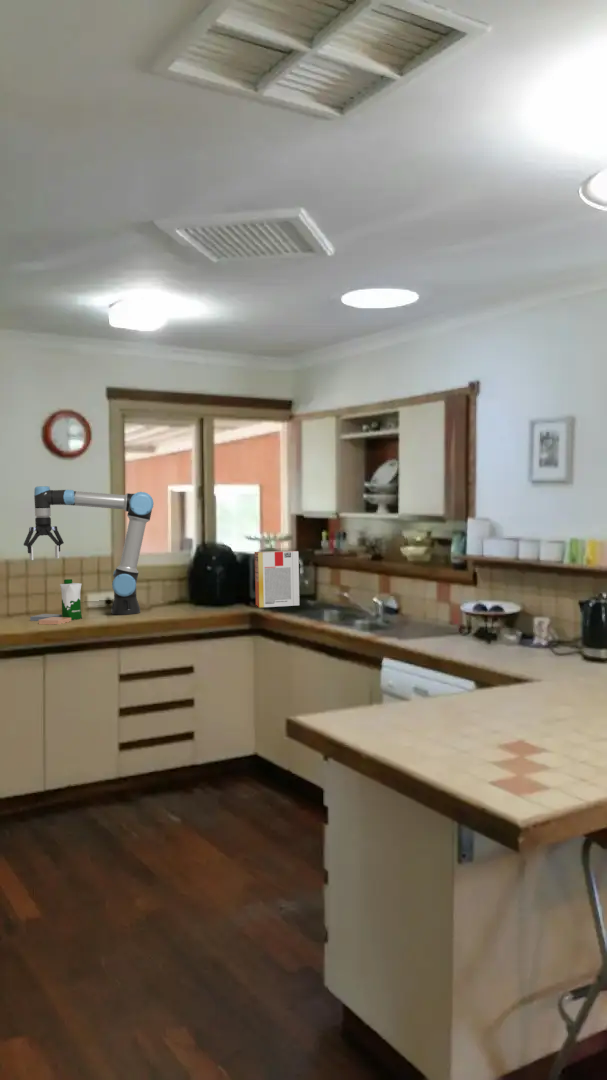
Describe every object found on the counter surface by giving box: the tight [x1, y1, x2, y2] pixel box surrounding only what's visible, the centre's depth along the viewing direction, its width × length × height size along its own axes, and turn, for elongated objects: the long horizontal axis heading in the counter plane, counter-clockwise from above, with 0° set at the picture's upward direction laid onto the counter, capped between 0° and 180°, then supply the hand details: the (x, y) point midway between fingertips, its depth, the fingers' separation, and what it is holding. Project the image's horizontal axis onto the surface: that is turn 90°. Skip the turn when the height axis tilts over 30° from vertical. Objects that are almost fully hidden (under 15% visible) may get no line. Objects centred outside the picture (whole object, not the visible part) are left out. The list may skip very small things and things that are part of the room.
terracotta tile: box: [38, 617, 72, 625], centre depth 418 cm, size 11×11×2 cm
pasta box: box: [254, 550, 300, 609], centre depth 472 cm, size 23×8×30 cm, turn 107°
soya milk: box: [59, 578, 83, 621], centre depth 430 cm, size 9×9×20 cm
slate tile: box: [29, 613, 62, 622], centre depth 431 cm, size 11×11×2 cm
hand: (44, 559), depth 430 cm, fingers open, 13 cm apart
